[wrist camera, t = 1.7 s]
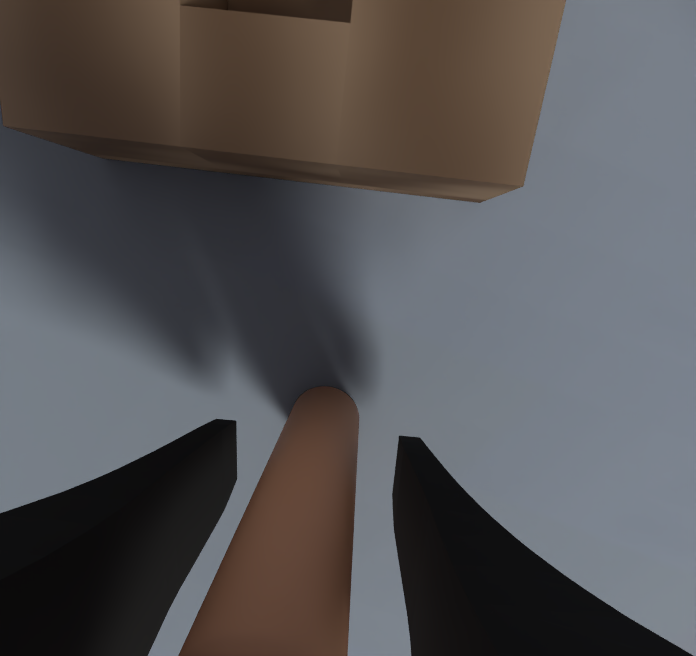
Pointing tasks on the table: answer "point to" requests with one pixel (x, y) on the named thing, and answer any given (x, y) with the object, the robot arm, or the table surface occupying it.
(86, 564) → the robot arm
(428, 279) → the table surface
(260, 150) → the bore block
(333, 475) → the pin
